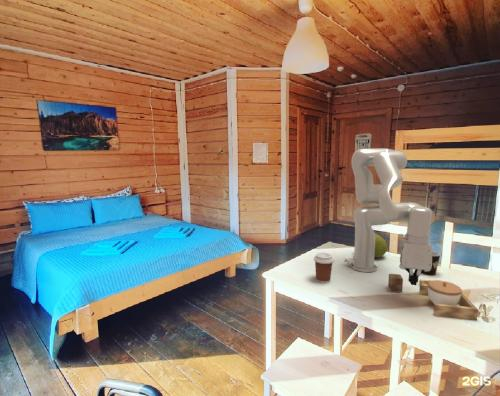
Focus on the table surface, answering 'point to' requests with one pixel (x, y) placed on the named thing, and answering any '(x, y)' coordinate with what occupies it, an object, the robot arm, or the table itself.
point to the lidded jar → (444, 292)
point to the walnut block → (395, 282)
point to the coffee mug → (433, 264)
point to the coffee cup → (323, 267)
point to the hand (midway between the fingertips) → (412, 283)
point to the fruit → (380, 246)
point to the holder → (451, 306)
